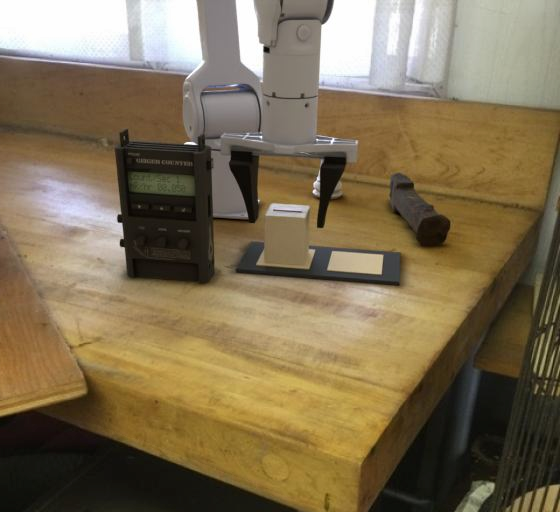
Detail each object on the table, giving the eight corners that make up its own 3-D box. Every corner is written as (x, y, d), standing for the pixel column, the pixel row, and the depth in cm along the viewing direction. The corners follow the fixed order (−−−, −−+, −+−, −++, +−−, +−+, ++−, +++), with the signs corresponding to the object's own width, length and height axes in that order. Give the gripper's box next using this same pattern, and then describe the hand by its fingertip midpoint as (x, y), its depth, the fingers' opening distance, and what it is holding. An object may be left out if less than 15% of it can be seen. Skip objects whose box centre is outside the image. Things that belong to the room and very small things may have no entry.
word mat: (235, 272, 77) (235, 268, 77) (251, 244, 85) (251, 240, 85) (399, 285, 75) (399, 281, 75) (400, 255, 83) (400, 251, 82)
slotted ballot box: (264, 262, 79) (264, 214, 76) (270, 248, 82) (271, 202, 80) (303, 265, 78) (305, 217, 75) (308, 251, 82) (310, 204, 79)
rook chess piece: (322, 189, 106) (325, 135, 102) (348, 194, 104) (351, 139, 100) (306, 196, 103) (308, 140, 99) (332, 201, 100) (335, 145, 96)
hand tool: (448, 247, 85) (454, 210, 83) (416, 247, 85) (421, 210, 83) (410, 201, 102) (413, 169, 99) (383, 201, 101) (386, 169, 99)
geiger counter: (114, 279, 75) (98, 135, 67) (129, 264, 79) (116, 126, 71) (209, 288, 73) (204, 141, 66) (219, 271, 77) (215, 131, 70)
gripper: (211, 97, 69) (215, 229, 76) (358, 104, 67) (348, 239, 74) (227, 86, 75) (229, 209, 82) (363, 92, 73) (353, 218, 80)
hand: (286, 222), depth 78 cm, fingers open, 7 cm apart
